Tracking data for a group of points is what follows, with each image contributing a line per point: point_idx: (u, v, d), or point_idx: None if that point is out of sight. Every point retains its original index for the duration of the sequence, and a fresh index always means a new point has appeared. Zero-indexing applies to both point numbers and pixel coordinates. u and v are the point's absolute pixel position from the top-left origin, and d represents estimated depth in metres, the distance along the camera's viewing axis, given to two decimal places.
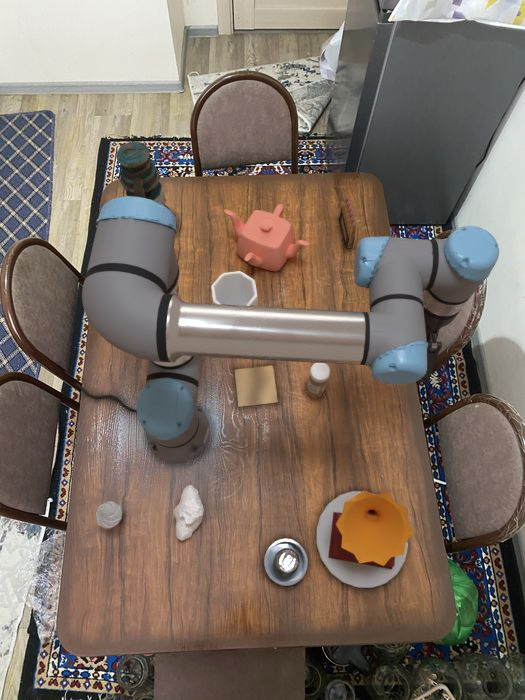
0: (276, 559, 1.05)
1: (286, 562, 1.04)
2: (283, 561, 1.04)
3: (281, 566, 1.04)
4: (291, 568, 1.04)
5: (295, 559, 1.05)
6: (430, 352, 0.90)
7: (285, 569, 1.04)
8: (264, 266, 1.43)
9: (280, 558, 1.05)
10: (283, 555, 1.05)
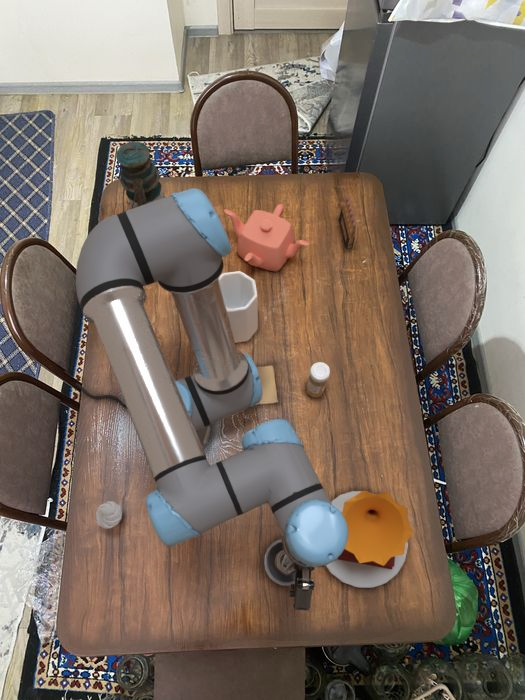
0: (276, 559, 1.05)
1: (286, 562, 1.04)
2: (283, 561, 1.04)
3: (281, 566, 1.04)
4: (291, 568, 1.04)
5: None
6: None
7: (285, 569, 1.04)
8: (264, 266, 1.43)
9: (280, 558, 1.05)
10: (283, 555, 1.05)
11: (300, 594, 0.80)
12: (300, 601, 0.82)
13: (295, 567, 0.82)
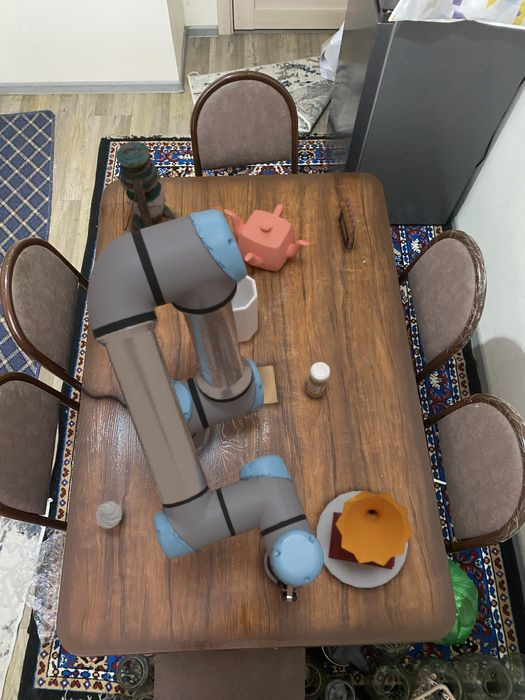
0: None
1: None
2: None
3: None
4: None
5: None
6: None
7: None
8: (264, 266, 1.43)
9: None
10: None
11: None
12: None
13: None
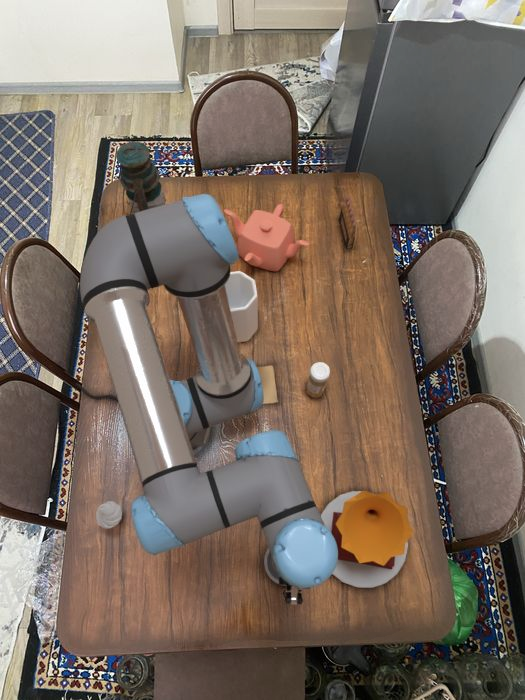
0: None
1: None
2: None
3: None
4: None
5: None
6: None
7: None
8: (264, 266, 1.43)
9: None
10: None
11: None
12: None
13: None
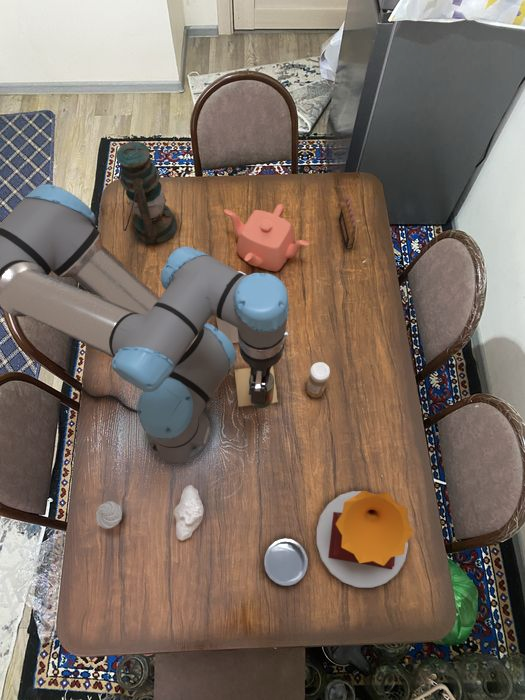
0: (250, 377, 1.03)
1: None
2: None
3: None
4: None
5: (270, 378, 1.02)
6: None
7: None
8: (264, 266, 1.43)
9: None
10: None
11: (254, 393, 0.91)
12: (255, 398, 0.93)
13: (252, 373, 0.92)
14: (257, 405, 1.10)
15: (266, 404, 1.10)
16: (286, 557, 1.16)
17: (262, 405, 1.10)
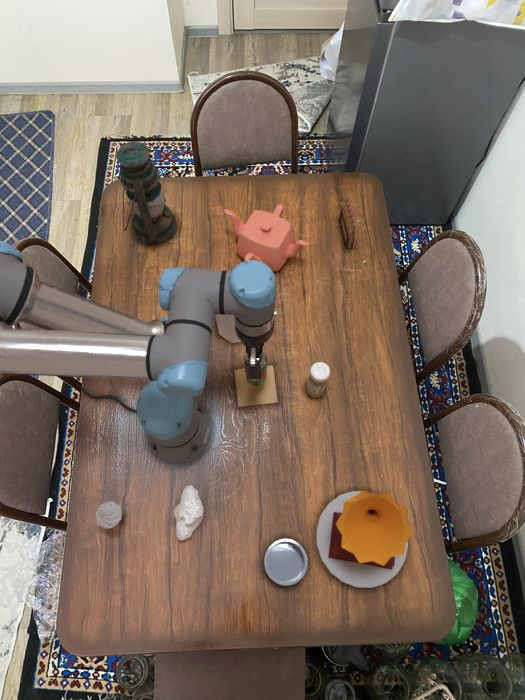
0: (245, 357, 1.15)
1: None
2: None
3: None
4: None
5: (263, 357, 1.15)
6: (252, 365, 1.02)
7: None
8: None
9: None
10: None
11: (249, 369, 1.04)
12: (251, 373, 1.06)
13: (247, 351, 1.04)
14: (252, 383, 1.23)
15: (260, 382, 1.22)
16: (286, 557, 1.16)
17: (257, 383, 1.22)
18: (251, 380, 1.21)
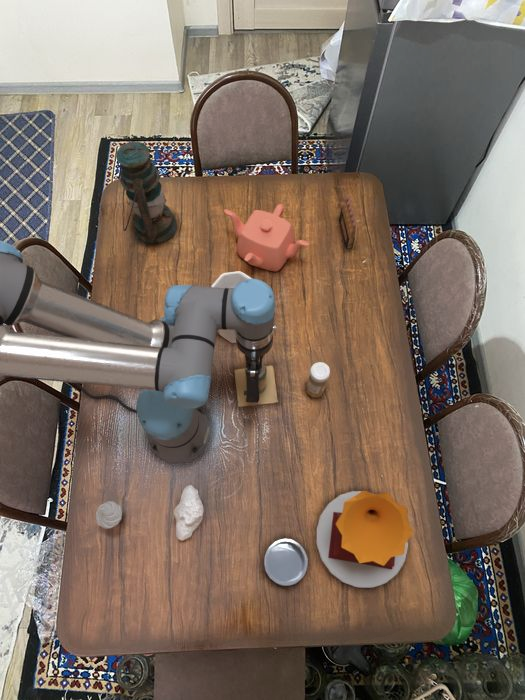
0: (246, 368, 1.21)
1: None
2: None
3: None
4: (259, 374, 1.20)
5: (262, 367, 1.21)
6: (252, 378, 1.06)
7: None
8: (264, 266, 1.43)
9: None
10: None
11: (249, 383, 1.07)
12: (250, 391, 1.08)
13: (247, 366, 1.09)
14: None
15: (260, 390, 1.28)
16: (286, 557, 1.16)
17: None
18: None
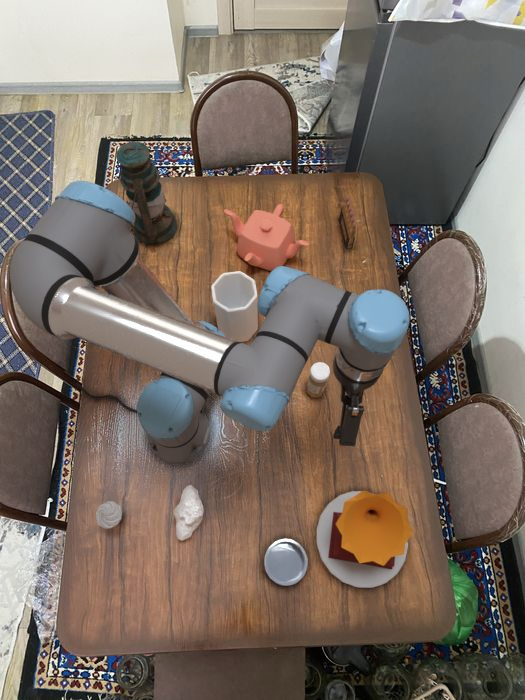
0: None
1: None
2: None
3: None
4: None
5: None
6: (352, 416, 0.82)
7: None
8: (264, 266, 1.43)
9: None
10: None
11: (348, 422, 0.82)
12: (347, 433, 0.84)
13: (343, 400, 0.84)
14: None
15: None
16: (286, 557, 1.16)
17: None
18: None
